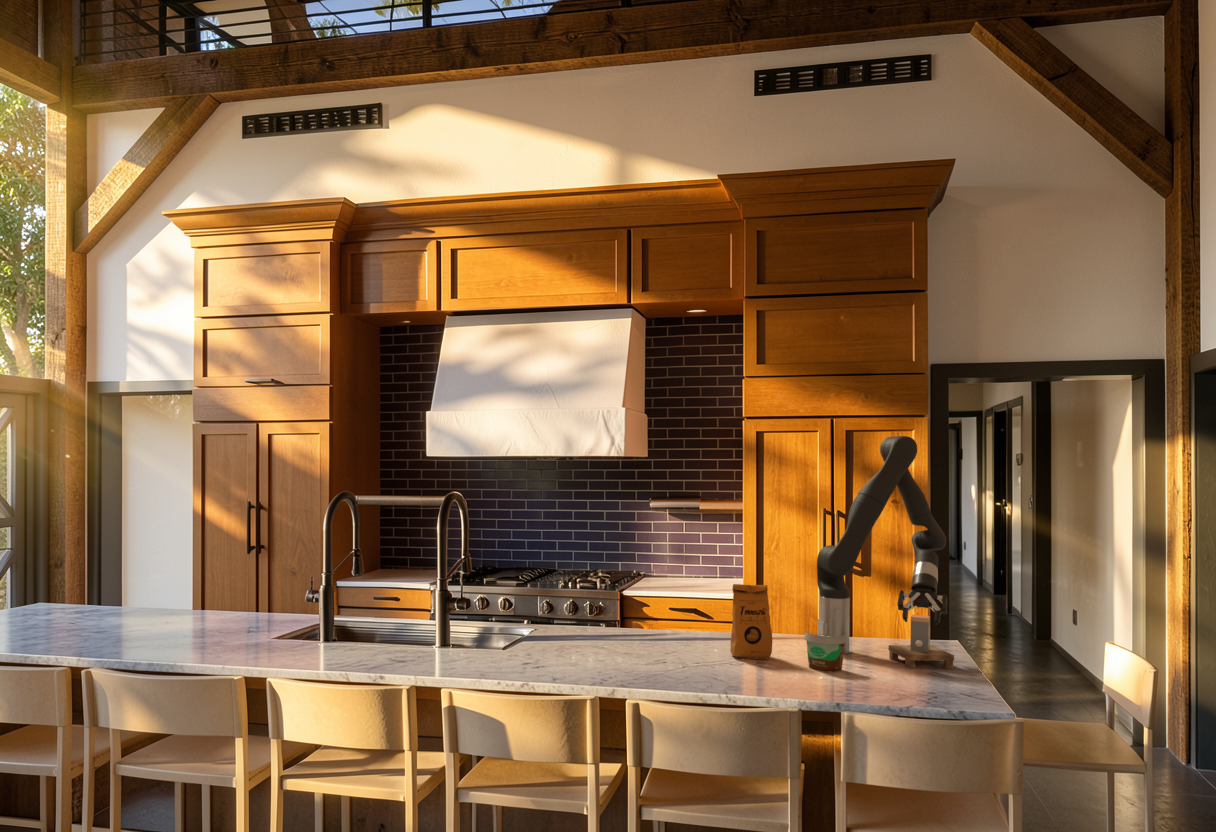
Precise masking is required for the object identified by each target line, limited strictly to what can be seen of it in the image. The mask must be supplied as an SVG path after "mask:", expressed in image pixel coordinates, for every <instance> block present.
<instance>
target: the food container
mask: <svg viewBox="0 0 1216 832" xmlns="http://www.w3.org/2000/svg"><path fill="white" fill-rule="evenodd" d="M803 640H805V642H806V650H807V663H808V668H809V669H811V670H813V671H819V672H827V673H831V672H832V673H833V672H834V673H835V672H840V671H842V670H843V660H844V655H845V654H844V645H845V643H847V639H846V637H845V635H844V636H837V637H833V636H829V635H817V634H812V633H809V632H808V631H807V630H805V633H804V636H803Z"/></svg>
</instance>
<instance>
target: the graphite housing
mask: <svg viewBox="0 0 1216 832" xmlns="http://www.w3.org/2000/svg"><path fill="white" fill-rule="evenodd" d="M910 645H911V651H919V652H929V650H930V646H931V616H930V615H921V614H911V615H910Z"/></svg>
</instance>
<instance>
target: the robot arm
mask: <svg viewBox="0 0 1216 832" xmlns="http://www.w3.org/2000/svg"><path fill="white" fill-rule="evenodd" d="M879 452H880V455H881V458H882V460H883V462H884V463H883V465H882V467H881V468H880V469H879V471H877V472H876V473H875V474H874V475H873V476H872V477H871V478H869V480H868V481H867V482H866V483H865V484H864V485H862V487H861V488H860V489H859V491H858V493H857V494H856V496H855V498H854V499H853V501H852V503H851V506H850V508H849V511H848V517H847V524H846V528H845V531H844V532H843V534H842V536H841V538H840V540H839V541H838V543H837V544H836V545H830V544H829V545H826V546H824V547H822V548H821V549H820V550H819V552H818V554H817V559H816V577H817V579H816V580H817V581H816V582H817V587H818V589H819V618H818V619H817V621H816V624H817V625H816V626H817V628H816V629H817V630H816V631H817V632H816V635H829V636H833V637H837V636H844V635H845V637H846V639H847V643H845V645H844V654H843V655H846V654H850V610H851V609H850V608H851V607H850V603H851V602H850V600H851V599H850V598H851V596H850V595H851V594H850V588H849V587H848V586H847V584H846V582H845V576H847V575H848V574H849V573H851V571H852V570H853V569H854V567H855V564H856V563H857V560H858V558H859V555H860V554H861V550H862V548H863V546H864V544H865V542H866V541H867V539H868V537H869V535H870V533H871V531H872V530H873V528H874V527H875V525H876V523H877V521H878V520H879V518H880V516H881V515H882V512H883V511H884V509H885V507H886V505H887V503H888V502H889V499H890V497H891V496H892V494H893V492H894V491H895V490H896V487H897V489H898V491H899V493H900V495H901V498H902V501H903V504H904V507H905V510H906V513H907V515H908V519H909V521H910V523H911V525H913V526H918V527H919V526H921V527H924V528H926V529H924V530H919V531H915V532H914V533H913V534H912V535H911V543H912V547H913V551H914V552H913V553H914V558H915V559H914V566H913V569H912V570H913V571H912V575H911V576H912V578H911V586H910V591H909V592H905V590H900V591H899V594H898V597H897V598H898V599H897V610H898V611H902V620H903V621H904V622H905V623H908V618H909V611H910V610H913V609H914V608H916V607H917V608H924V609H930V610H932V612H934V618H933V619H934V626H937V625H938V624H940V622H941V615H947V614H948V597H947V596H948V595H947V594H946V593H943V594H942V595H938V594H937V592H938V591H937V590H938V582H939V571H938V570H939V555H938V554H937V553H936V552H935V551H941V550H944V549H945V547H946V545H947V537H946V534H945V532H944V531H943V530H942V528H941V527H940V526H939V523H937V521H936V520H935V518H934V516H933V514H932V511H931V509H930V506H929V503H928V500H927V498H926V495H925V493H924V492H923V490H922V489H921V488H920V486H919V485H918V483H917V482H916V480H915V478H914V477H913V476H912V473H911V472H910V469H909V468H910V466H911V465H912V464H913V462H914V460H915V459H916V457H917V454H918V444H917V442H916V440H915V439H914V438H913V437H911V436H908V435H907V436H906V435H897V436H896V435H894V436H888V437H886V438H884V439H883V440H882V441H881V443H880V447H879ZM907 598H909V599H908V600H907ZM906 600H907V602H906V603H904V601H906ZM938 601H939V602H940V603H941V604H942V607H940V606H939V605H938V604H937V602H938Z"/></svg>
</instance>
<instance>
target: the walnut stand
mask: <svg viewBox="0 0 1216 832" xmlns="http://www.w3.org/2000/svg"><path fill="white" fill-rule="evenodd" d="M888 651H889V653H888V654H889V655H888V656H889V660H891V661H899V657H901V658H903V659H904V660H905V661H904V662H905V663H904V664H905V665H904V666H905V668H906V669H908V670H910V669H911V670H913V669H914V670H915V668H916V665H915V663H916V662H915V661H943V663H942V664H943V665H942V666H943V669H946V670H954V661H955V655H954V654H952V653H950V652H948V651H946V650H944V649H941V648H939V647H937V646H934V645H930V650H929V652H919V651H911V644H909V645H907V644H905V645H904V644H902V645H900V644H898V645H897V644H895V645H894V644H893V645H892V644H889V645H888Z"/></svg>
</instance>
